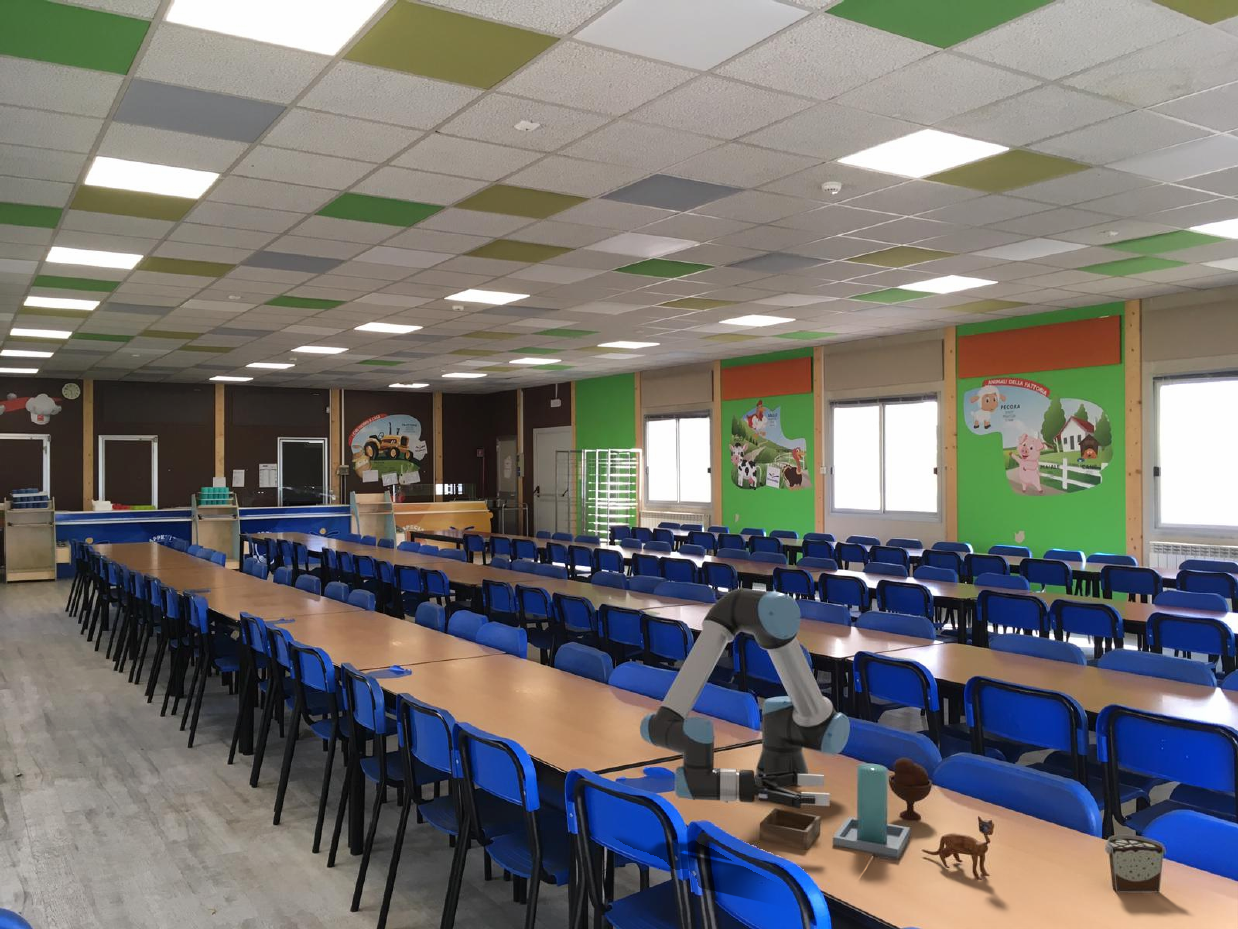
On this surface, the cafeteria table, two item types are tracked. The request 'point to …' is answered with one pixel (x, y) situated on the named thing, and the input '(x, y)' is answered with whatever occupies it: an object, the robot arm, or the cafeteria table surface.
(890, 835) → the tray
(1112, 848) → the food container
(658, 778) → the cafeteria table surface
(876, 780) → the teal jar
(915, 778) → the ice cream bowl
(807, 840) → the open wooden box
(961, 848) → the cat figurine
